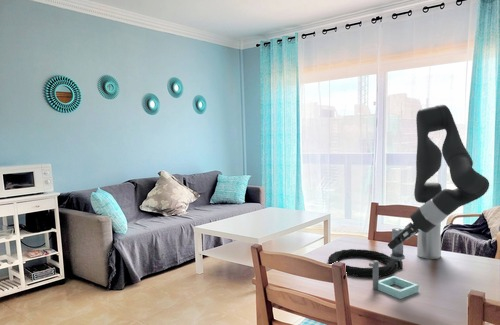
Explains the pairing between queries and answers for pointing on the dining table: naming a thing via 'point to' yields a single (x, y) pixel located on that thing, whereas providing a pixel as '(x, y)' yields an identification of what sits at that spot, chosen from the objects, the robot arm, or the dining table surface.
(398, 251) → the pin
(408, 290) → the teal rectangular frame
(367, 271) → the cable lock
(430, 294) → the dining table surface
